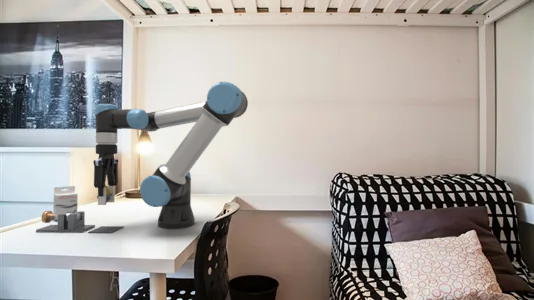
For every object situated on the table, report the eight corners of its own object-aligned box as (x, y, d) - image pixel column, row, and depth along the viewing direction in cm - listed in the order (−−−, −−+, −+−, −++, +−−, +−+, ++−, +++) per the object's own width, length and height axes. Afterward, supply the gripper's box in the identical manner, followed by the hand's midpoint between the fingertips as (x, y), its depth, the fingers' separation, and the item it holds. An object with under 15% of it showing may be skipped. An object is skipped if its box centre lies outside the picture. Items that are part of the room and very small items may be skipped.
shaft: (82, 221, 122) (82, 210, 122) (75, 224, 117) (75, 212, 118) (50, 221, 122) (50, 209, 123) (41, 224, 118) (41, 212, 118)
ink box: (55, 221, 134) (55, 188, 134) (53, 220, 137) (53, 187, 137) (77, 218, 139) (77, 186, 140) (75, 217, 143) (75, 185, 143)
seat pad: (123, 227, 124) (123, 226, 124) (111, 233, 115) (111, 232, 115) (101, 227, 124) (101, 226, 124) (88, 233, 115) (88, 232, 115)
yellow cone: (107, 204, 116) (102, 178, 116) (95, 206, 117) (90, 181, 118) (116, 201, 122) (112, 177, 122) (105, 203, 123) (100, 179, 123)
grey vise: (94, 227, 124) (95, 211, 124) (82, 232, 116) (82, 215, 116) (51, 227, 124) (51, 210, 124) (35, 232, 116) (36, 215, 116)
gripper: (109, 144, 129) (109, 199, 129) (82, 143, 111) (82, 207, 110) (127, 144, 129) (127, 199, 129) (102, 143, 110) (102, 207, 110)
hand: (106, 203), depth 119 cm, fingers closed on yellow cone, 5 cm apart
